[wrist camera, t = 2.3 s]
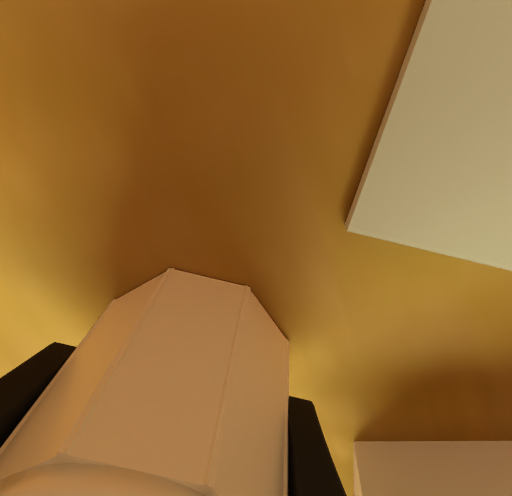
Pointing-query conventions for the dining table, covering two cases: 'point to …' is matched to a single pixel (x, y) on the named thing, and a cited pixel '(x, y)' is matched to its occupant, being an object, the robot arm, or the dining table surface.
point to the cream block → (432, 468)
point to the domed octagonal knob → (162, 401)
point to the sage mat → (446, 139)
